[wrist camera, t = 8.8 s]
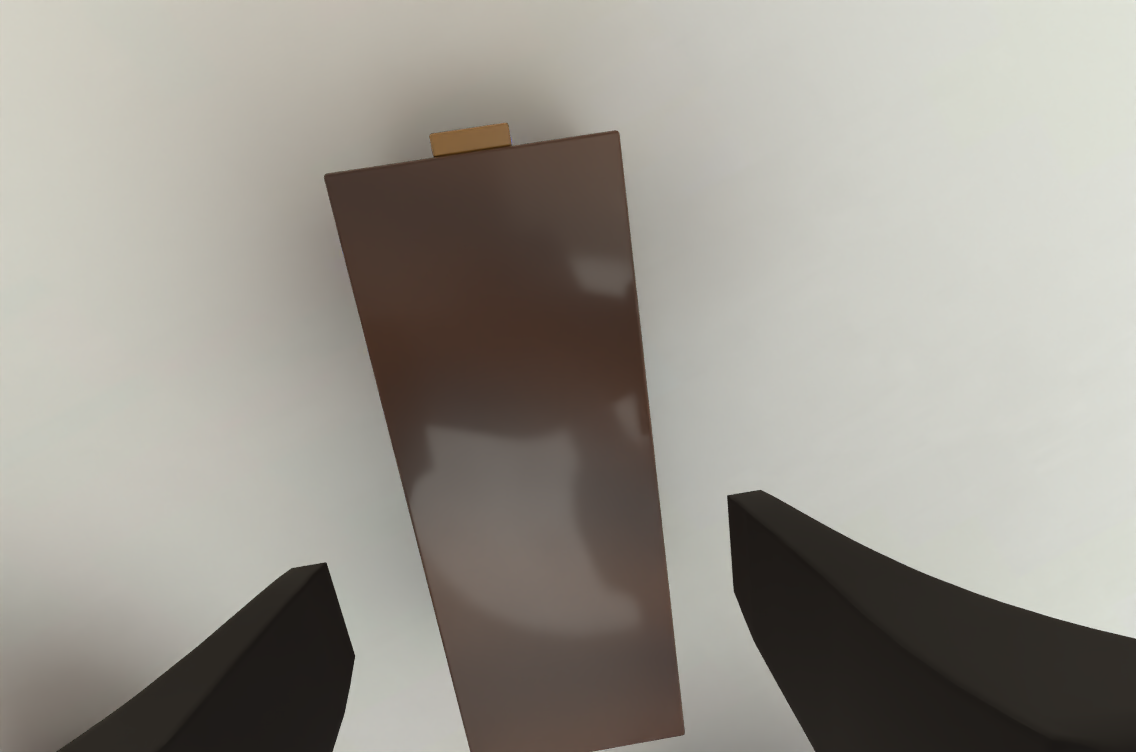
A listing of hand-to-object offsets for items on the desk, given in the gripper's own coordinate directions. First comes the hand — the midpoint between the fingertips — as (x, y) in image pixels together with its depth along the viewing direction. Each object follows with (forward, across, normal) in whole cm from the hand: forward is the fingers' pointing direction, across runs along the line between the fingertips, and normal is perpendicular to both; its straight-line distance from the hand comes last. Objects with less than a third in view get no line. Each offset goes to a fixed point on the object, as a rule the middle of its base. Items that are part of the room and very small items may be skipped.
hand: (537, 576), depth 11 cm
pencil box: (+8, 0, 0) cm, 8 cm away
